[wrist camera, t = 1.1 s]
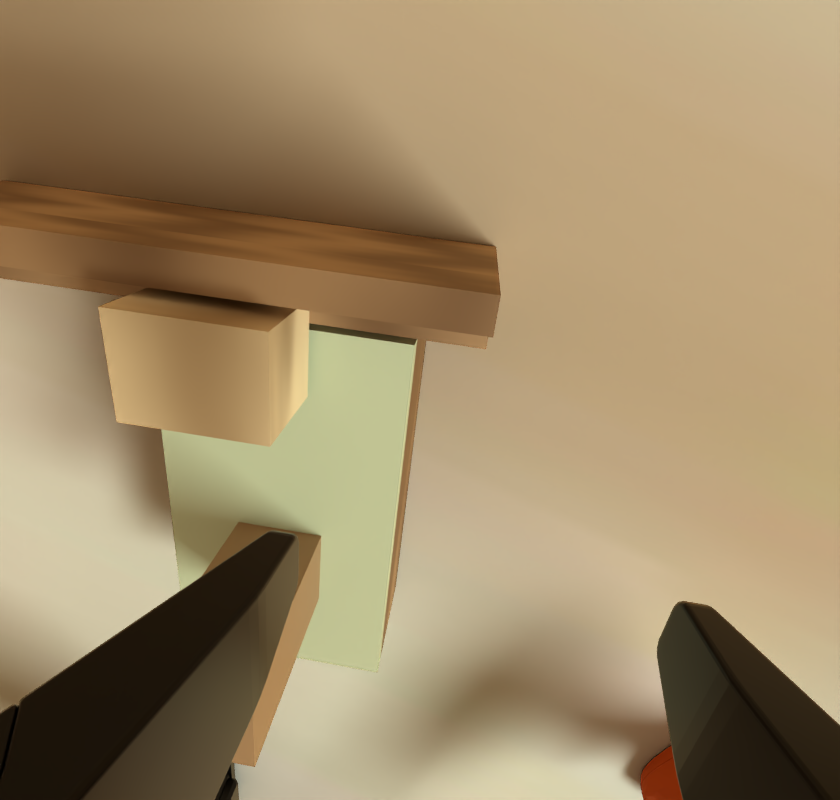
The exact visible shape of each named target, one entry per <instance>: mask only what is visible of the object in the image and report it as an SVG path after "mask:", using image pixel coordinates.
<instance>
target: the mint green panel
mask: <svg viewBox="0 0 840 800" xmlns="http://www.w3.org/2000/svg"><path fill="white" fill-rule="evenodd" d="M416 347H417V339H413V338H406V337H400V336H393V335H386V334H379V333H372V332H365V331H359V330H352V329H345V328H338V327H331V326H324V325H318V324H311V323H309V355H308V397H307V398H306V400H305V401H304V402H303V404H302V405H301V406H300V408H299V409H298V410H297V412H296V413H295V414H294V416H293V417H292V418H291V420H290V421H289V422H288V424H287V425H286V426H285V428H284V429H283V430H282V432H281V433H280V434H279V436H278V437H277V438H276V440H275V441H274V442H273V444H272V445H271V446H270V447H268V446H262V445H256V444H249V443H243V442H237V441H231V440H224V439H218V438H212V437H206V436H200V435H193V434H187V433H181V432H175V431H168V430H162V429H161V432H162V440H163V449H164V457H165V466H166V474H167V482H168V491H169V499H170V508H171V516H172V524H173V533H174V541H175V549H176V558H177V566H178V575H179V583H180V591H181V590H182V589H184V588H185V587H187V586H188V585H190V584H191V583H193V582H194V581H195V580H197V579H198V578H200V577H201V576H203V575H204V574H206V573H207V572H209V571H210V570H212V569H213V568H215V567H216V566H218V565H219V564H221V563H222V562H223V561H225V560H226V559H228V558H229V557H231V556H232V555H234V554H235V553H237V552H238V551H240V550H241V549H243V548H244V547H246V546H247V545H249V544H250V543H251V542H253V541H254V540H256V539H257V538H259V537H260V536H262V535H263V534H265V533H266V532H268V531H271V530H275V531H281V532H287V533H293V534H295V535H296V536H297V537H298V540H299V573H298V584H297V588H296V592H295V595H294V598H293V601H292V604H291V608H290V611H289V614H288V617H287V620H286V623H285V626H284V629H283V632H282V635H281V638H280V641H279V644H278V647H277V650H276V653H275V656H274V659H273V662H272V665H271V668H270V671H269V674H268V677H267V680H266V683H265V686H264V688H263V691H262V694H261V697H260V699H259V702H258V704H257V706H256V709H255V711H254V714H253V716H252V718H251V720H250V722H249V725H248V727H247V729H246V731H245V733H244V736H243V738H242V740H241V742H240V745H239V747H238V749H237V751H236V753H235V756H234V758H233V760H232V762H233V763H238V764H243V765H248V766H253V767H255V765H256V762H257V760H258V757H259V754H260V752H261V749H262V747H263V744H264V741H265V739H266V736H267V733H268V731H269V728H270V726H271V723H272V720H273V718H274V715H275V712H276V710H277V707H278V705H279V702H280V699H281V697H282V694H283V691H284V689H285V686H286V684H287V681H288V678H289V676H290V673H291V670H292V668H293V665H294V663H295V660H296V658H301V659H307V660H312V661H318V662H323V663H329V664H334V665H339V666H345V667H350V668H356V669H361V670H367V671H372V672H377V671H378V666H379V662H380V657H381V648H382V640H383V631H384V622H385V614H386V605H387V596H388V588H389V579H390V571H391V562H392V553H393V545H394V536H395V528H396V519H397V510H398V502H399V493H400V485H401V476H402V467H403V459H404V450H405V441H406V433H407V424H408V416H409V407H410V398H411V390H412V381H413V373H414V364H415V355H416Z"/></svg>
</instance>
